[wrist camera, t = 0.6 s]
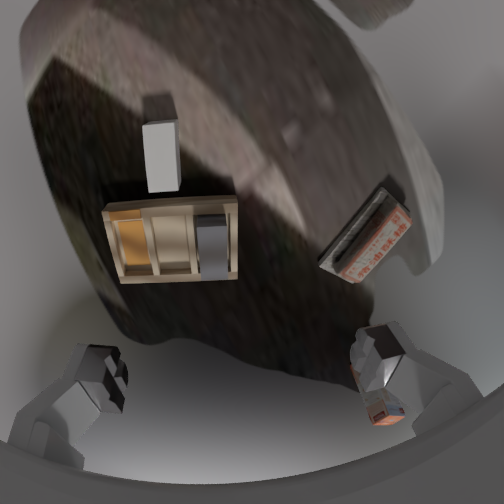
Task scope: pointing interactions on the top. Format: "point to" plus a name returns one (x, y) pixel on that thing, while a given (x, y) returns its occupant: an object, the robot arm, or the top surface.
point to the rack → (174, 238)
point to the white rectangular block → (162, 155)
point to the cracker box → (380, 404)
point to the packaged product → (367, 238)
